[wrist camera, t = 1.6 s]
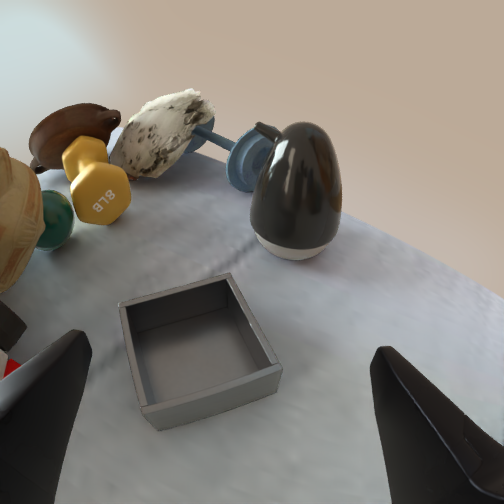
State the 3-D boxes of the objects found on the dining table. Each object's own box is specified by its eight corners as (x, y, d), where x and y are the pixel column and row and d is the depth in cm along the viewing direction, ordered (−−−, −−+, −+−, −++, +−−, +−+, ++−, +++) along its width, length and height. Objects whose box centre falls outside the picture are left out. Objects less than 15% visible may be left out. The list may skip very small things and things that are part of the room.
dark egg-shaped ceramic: (264, 211, 42) (271, 103, 32) (337, 231, 39) (362, 121, 29) (233, 258, 35) (233, 128, 25) (322, 284, 32) (355, 152, 22)
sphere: (25, 249, 27) (81, 253, 34) (33, 180, 28) (87, 191, 35) (12, 248, 32) (59, 252, 38) (18, 190, 32) (64, 198, 39)
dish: (57, 188, 56) (53, 170, 56) (140, 141, 56) (134, 122, 56) (6, 170, 39) (5, 148, 39) (103, 103, 39) (98, 81, 39)
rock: (94, 174, 54) (137, 91, 55) (111, 182, 57) (151, 101, 58) (159, 178, 38) (217, 64, 40) (182, 191, 41) (234, 80, 43)
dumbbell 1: (60, 207, 32) (101, 241, 38) (110, 155, 32) (147, 194, 39) (51, 161, 43) (80, 188, 49) (88, 124, 44) (114, 153, 50)
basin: (276, 392, 23) (283, 368, 20) (158, 431, 20) (142, 415, 17) (230, 303, 30) (230, 272, 27) (131, 332, 27) (117, 302, 24)
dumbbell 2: (202, 91, 52) (214, 132, 60) (154, 116, 49) (171, 158, 57) (287, 118, 40) (293, 172, 48) (227, 152, 37) (242, 208, 44)
